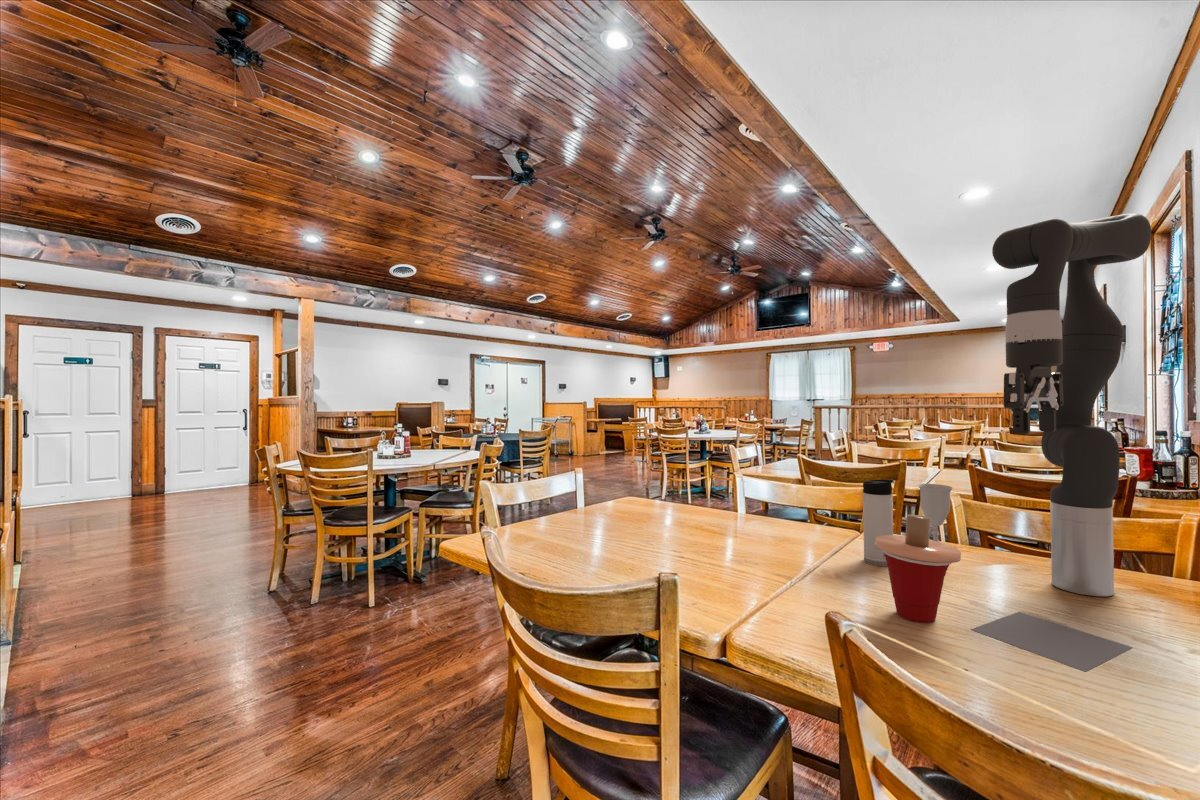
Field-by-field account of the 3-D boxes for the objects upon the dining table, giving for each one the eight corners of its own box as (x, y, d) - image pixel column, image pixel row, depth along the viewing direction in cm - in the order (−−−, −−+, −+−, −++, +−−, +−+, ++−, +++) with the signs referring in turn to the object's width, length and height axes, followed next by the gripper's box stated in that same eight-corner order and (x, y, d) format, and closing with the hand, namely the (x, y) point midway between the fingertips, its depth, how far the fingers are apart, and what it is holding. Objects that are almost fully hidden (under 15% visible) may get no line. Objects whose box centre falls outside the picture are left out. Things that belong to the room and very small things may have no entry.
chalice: (961, 566, 118) (959, 488, 118) (931, 567, 118) (930, 489, 118) (940, 556, 125) (939, 483, 125) (912, 557, 125) (911, 484, 125)
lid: (903, 539, 100) (905, 507, 100) (976, 559, 89) (978, 523, 89) (859, 544, 94) (861, 510, 94) (931, 566, 83) (933, 528, 83)
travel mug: (894, 568, 117) (893, 481, 117) (862, 564, 121) (861, 479, 121) (895, 560, 123) (894, 478, 123) (865, 556, 126) (863, 476, 126)
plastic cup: (969, 630, 86) (968, 559, 86) (908, 633, 86) (907, 562, 86) (924, 604, 97) (923, 541, 97) (870, 607, 97) (868, 543, 97)
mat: (1019, 613, 92) (1019, 611, 92) (1133, 649, 79) (1132, 647, 79) (970, 631, 86) (970, 629, 86) (1085, 674, 72) (1085, 671, 72)
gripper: (1029, 342, 95) (1030, 430, 95) (985, 340, 89) (987, 433, 89) (1081, 338, 88) (1082, 432, 88) (1037, 335, 82) (1039, 436, 82)
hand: (1034, 432), depth 88 cm, fingers open, 8 cm apart
